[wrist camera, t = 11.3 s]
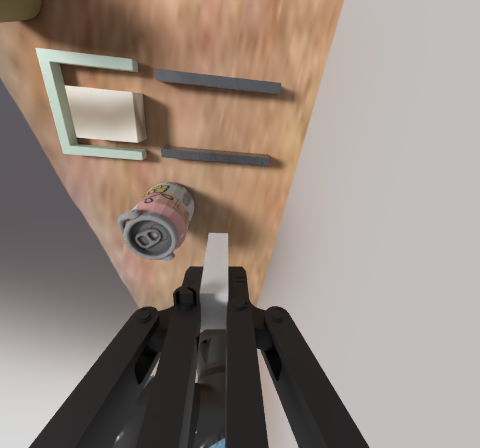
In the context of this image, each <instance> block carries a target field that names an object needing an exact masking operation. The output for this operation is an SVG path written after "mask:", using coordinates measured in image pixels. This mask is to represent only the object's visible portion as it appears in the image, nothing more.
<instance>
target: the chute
mask: <svg viewBox="0 0 480 448" xmlns="http://www.w3.org/2000/svg"><path fill="white" fill-rule="evenodd" d="M156 80H157V81H160V82H166V83H175V84H185V85H194V86H203V87H212V88H221V89H231V90H240V91H249V92H258V93H267V94H280V90H281V83H275V82H267V81H258V80H249V79H240V78H231V77H222V76H214V75H205V74H196V73H187V72H178V71H169V70H161V69H156ZM161 153H162V157H166V158H178V159H190V160H202V161H214V162H226V163H238V164H250V165H262V166H269V163H270V157H269V156H268V155H264V154H253V153H241V152H230V151H218V150H207V149H196V148H184V147H173V146H165V147H163V148H161Z"/></svg>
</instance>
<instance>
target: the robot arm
mask: <svg viewBox="0 0 480 448" xmlns="http://www.w3.org/2000/svg"><path fill="white" fill-rule="evenodd" d="M173 298H174V306H172V307H170V308H168V309H165V310H161V311H158V310H157V309H156V308H154V307H143V308H140V309H139V310H137V311H136V312H135V313H134V314H133V315H132V316H131V317H130V318H129V320H128V321H127V322H126V324H125V325H124V326H123V327H122V329H121V330H120V331H119V333H118V334H117V335H116V336H115V338H114V339H113V340H112V342H111V343H110V344H109V345H108V347H107V348H106V350H105V351H104V352H103V353H102V354H101V356H100V357H99V358H98V360H97V361H96V362H95V363H94V365H93V366H92V367H91V369H90V370H89V371H88V372H87V374H86V375H85V376H84V378H83V379H82V380H81V381H80V383H79V384H78V385H77V387H76V388H75V389H74V390H73V392H72V393H71V394H70V396H69V397H68V398H67V399H66V401H65V402H64V403H63V405H62V406H61V407H60V408H59V410H58V411H57V412H56V413H55V415H54V416H53V417H52V419H51V420H50V421H49V422H48V424H47V425H46V426H45V428H44V429H43V430H42V431H41V433H40V434H39V435H38V437H37V438H36V439H35V441H34V442H33V443H32V444H31V446H30V447H29V448H269V447H268V439H267V431H266V422H265V414H264V407H263V397H262V389H261V381H260V372H259V364H258V356H257V348H258V349H260V350H261V353H262V355H263V357H264V360H265V363H266V365H267V368H268V370H269V373H270V375H271V378H272V380H273V383H274V386H275V388H276V391H277V393H278V396H279V398H280V401H281V403H282V406H283V408H284V411H285V413H286V416H287V419H288V421H289V423H290V426H291V429H292V431H293V434H294V436H295V439H296V441H297V444H298V447H299V448H369V446H368V444H367V443H366V441H365V439H364V438H363V436H362V434H361V433H360V431H359V429H358V428H357V426H356V424H355V423H354V421H353V419H352V418H351V416H350V414H349V413H348V411H347V409H346V408H345V406H344V405H343V403H342V401H341V399H340V398H339V396H338V395H337V393H336V391H335V390H334V388H333V386H332V385H331V383H330V381H329V379H328V378H327V376H326V374H325V373H324V371H323V369H322V368H321V366H320V365H319V363H318V361H317V359H316V358H315V356H314V354H313V353H312V351H311V350H310V348H309V346H308V345H307V343H306V341H305V340H304V338H303V336H302V335H301V333H300V331H299V330H298V328H297V326H296V325H295V323H294V321H293V320H292V318H291V316H290V315H289V313H288V312H287V311H286V310H285V309H283V308H281V307H278V306H272V307H270V308H268V309H267V310H262V309H259V308H256V307H255V306H253V305H252V304H251V302H250V300H249V293H248V285H247V276H246V271H245V270H244V268H243V267H228V233H209V235H208V242H207V248H206V255H205V261H204V267H193V266H190V267H189V268H188V269H187V271H186V273H185V277H184V280H183V284H182V286H181V287H179V288H177V289H176V290H175V291H174V293H173ZM200 327H201V329H206V330H204V331H203V332H201V333H200ZM159 358H160V360H159ZM158 360H159V364H158V367H157V371H156V374H155V376H154V375H153V376H150V375H151V373H152V371H153V369H154V367H155V365H156V363H157V362H158ZM196 369H197V373H198V382H197V383H195V377H196Z"/></svg>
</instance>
